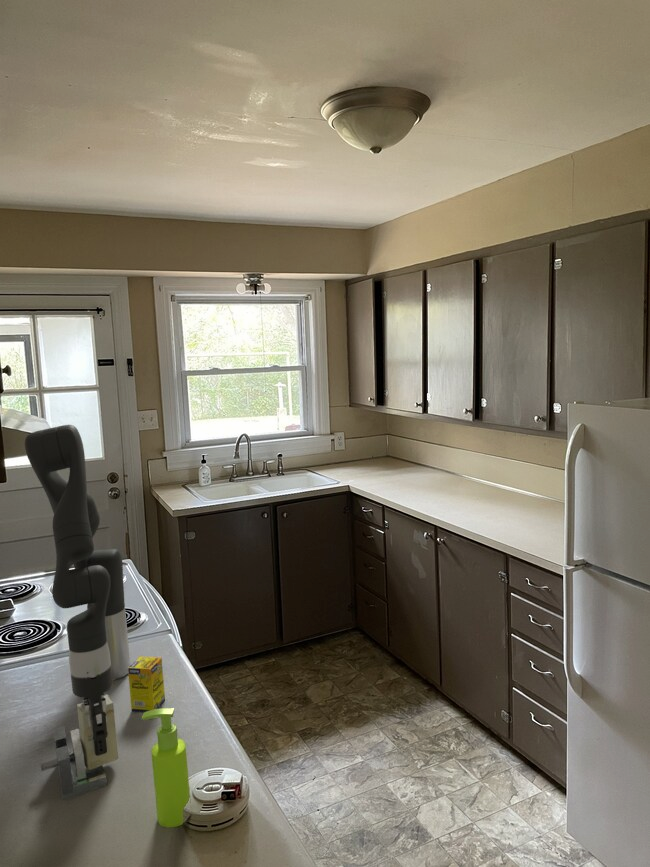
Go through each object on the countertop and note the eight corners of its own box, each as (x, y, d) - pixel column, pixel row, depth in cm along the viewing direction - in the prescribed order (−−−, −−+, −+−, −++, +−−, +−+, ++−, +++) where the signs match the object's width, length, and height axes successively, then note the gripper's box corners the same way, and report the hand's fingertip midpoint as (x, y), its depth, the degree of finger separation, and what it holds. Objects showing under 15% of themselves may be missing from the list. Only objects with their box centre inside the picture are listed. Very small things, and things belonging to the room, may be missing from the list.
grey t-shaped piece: (41, 768, 129) (38, 740, 128) (81, 755, 132) (78, 728, 131) (44, 796, 120) (40, 766, 119) (86, 782, 123) (83, 753, 123)
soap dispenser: (154, 806, 117) (145, 704, 115) (193, 802, 118) (184, 700, 115) (148, 830, 111) (138, 722, 109) (189, 825, 112) (179, 718, 109)
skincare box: (87, 771, 125) (81, 713, 124) (81, 760, 129) (75, 704, 127) (120, 758, 129) (113, 702, 127) (113, 748, 133) (107, 693, 131)
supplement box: (154, 713, 148) (150, 669, 147) (131, 712, 150) (126, 667, 148) (166, 700, 154) (162, 656, 153) (143, 698, 155) (139, 655, 154)
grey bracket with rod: (57, 765, 131) (53, 729, 130) (98, 752, 135) (95, 717, 134) (62, 799, 120) (58, 761, 119) (106, 785, 124) (103, 747, 123)
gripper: (67, 657, 131) (76, 734, 133) (74, 687, 118) (83, 773, 121) (105, 647, 135) (113, 723, 137) (116, 676, 122) (124, 759, 124)
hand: (99, 746), depth 129 cm, fingers closed on skincare box, 4 cm apart
